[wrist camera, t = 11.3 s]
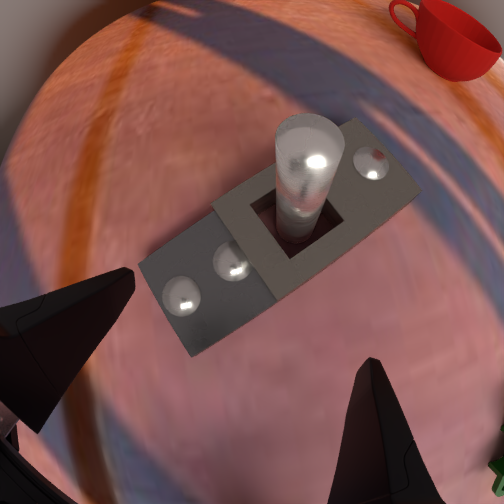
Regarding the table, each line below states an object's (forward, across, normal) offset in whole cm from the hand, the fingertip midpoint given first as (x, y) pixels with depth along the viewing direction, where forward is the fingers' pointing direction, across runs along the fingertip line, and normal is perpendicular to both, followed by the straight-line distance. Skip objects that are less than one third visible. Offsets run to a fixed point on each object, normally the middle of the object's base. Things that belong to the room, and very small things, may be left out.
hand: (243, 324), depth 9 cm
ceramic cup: (+39, -12, -20) cm, 45 cm away
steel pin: (+16, 0, +4) cm, 16 cm away
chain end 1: (+17, -2, +2) cm, 17 cm away
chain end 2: (+13, +2, +6) cm, 15 cm away
